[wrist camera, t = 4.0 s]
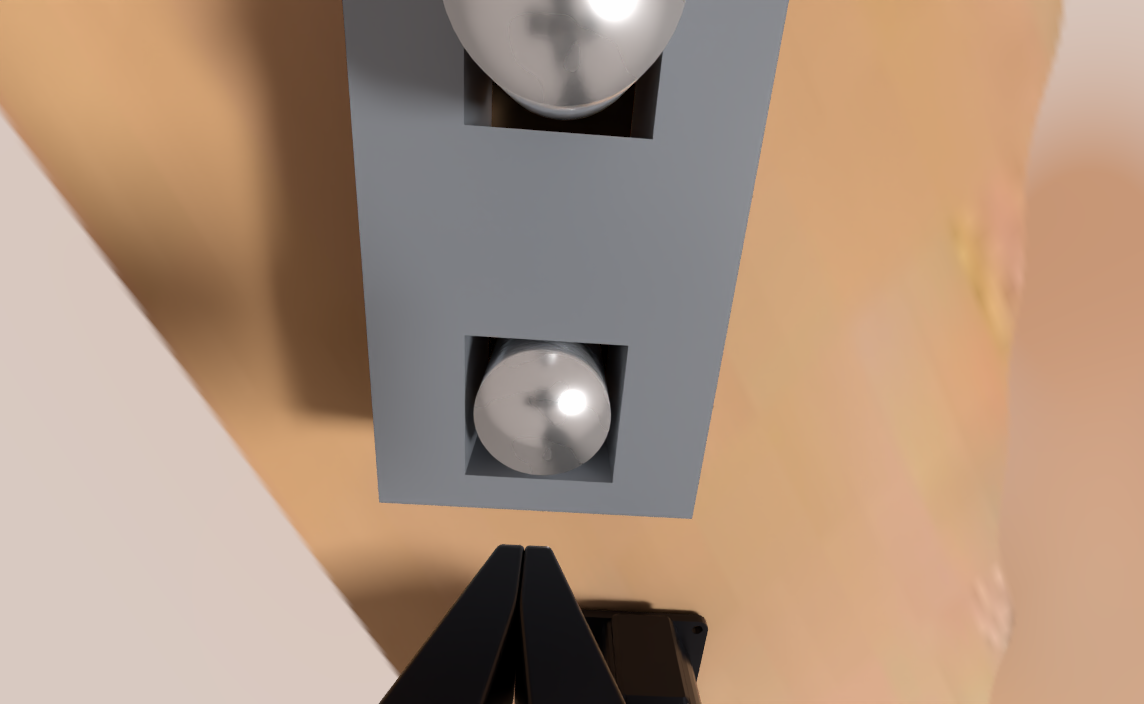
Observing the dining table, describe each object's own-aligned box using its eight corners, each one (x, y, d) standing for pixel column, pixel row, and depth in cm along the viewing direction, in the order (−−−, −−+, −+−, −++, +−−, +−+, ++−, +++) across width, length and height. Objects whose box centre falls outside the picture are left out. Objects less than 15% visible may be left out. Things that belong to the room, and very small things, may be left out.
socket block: (664, 439, 22) (691, 518, 17) (420, 425, 21) (379, 502, 17) (742, -62, 16) (817, -153, 11) (401, -93, 15) (327, -200, 11)
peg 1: (638, 126, 13) (673, 114, 9) (480, 113, 13) (438, 96, 9) (658, -65, 12) (712, -189, 8) (482, -81, 12) (432, -217, 7)
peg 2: (596, 408, 20) (604, 478, 16) (493, 402, 20) (473, 471, 16) (606, 309, 19) (617, 358, 15) (495, 302, 19) (473, 349, 15)
